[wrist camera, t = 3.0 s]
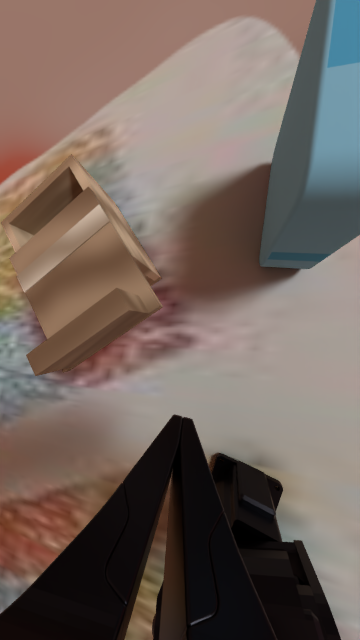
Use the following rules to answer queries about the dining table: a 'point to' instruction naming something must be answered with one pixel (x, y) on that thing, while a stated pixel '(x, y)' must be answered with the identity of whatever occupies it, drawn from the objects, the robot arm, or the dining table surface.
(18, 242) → the brown wooden open box
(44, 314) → the box lid
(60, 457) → the dining table surface
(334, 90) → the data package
